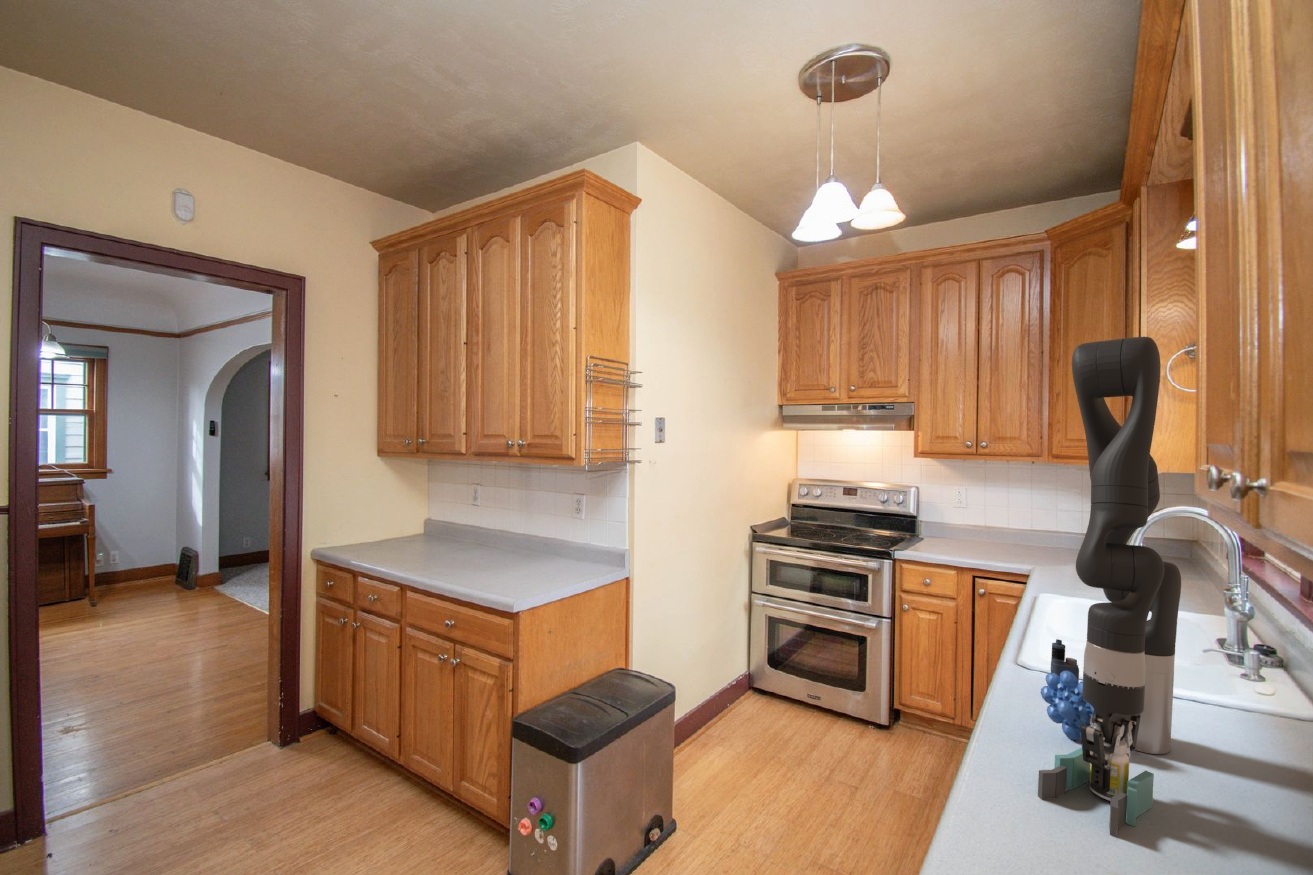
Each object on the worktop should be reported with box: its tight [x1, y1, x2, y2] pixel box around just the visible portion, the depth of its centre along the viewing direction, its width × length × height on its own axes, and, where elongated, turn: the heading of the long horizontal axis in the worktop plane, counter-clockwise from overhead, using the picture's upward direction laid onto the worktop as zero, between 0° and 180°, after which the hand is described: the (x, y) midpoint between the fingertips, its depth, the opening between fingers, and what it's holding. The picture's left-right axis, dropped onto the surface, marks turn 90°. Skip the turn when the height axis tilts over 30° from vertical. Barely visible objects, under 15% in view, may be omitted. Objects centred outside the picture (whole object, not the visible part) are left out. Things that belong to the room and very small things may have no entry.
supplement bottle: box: [1088, 740, 1130, 801], centre depth 92 cm, size 5×5×8 cm
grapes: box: [1040, 671, 1094, 741], centre depth 109 cm, size 12×7×12 cm, turn 28°
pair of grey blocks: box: [1037, 765, 1127, 838], centre depth 88 cm, size 5×10×4 cm, turn 31°
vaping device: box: [1049, 638, 1080, 683], centre depth 127 cm, size 3×5×12 cm, turn 82°
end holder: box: [1054, 747, 1155, 827], centre depth 92 cm, size 9×11×5 cm
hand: (1108, 784), depth 92 cm, fingers closed on supplement bottle, 4 cm apart
